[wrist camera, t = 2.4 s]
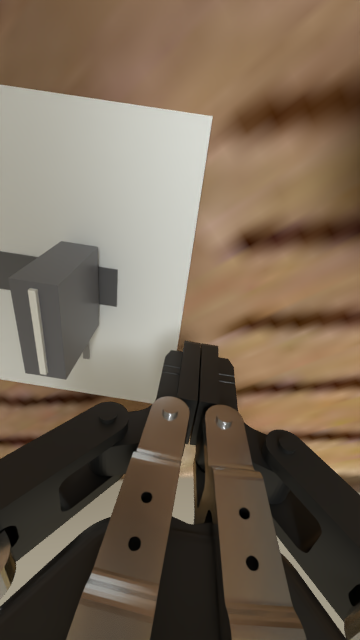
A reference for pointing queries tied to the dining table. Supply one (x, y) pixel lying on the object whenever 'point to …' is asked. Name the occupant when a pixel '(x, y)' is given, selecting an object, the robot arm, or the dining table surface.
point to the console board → (102, 225)
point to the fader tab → (56, 308)
